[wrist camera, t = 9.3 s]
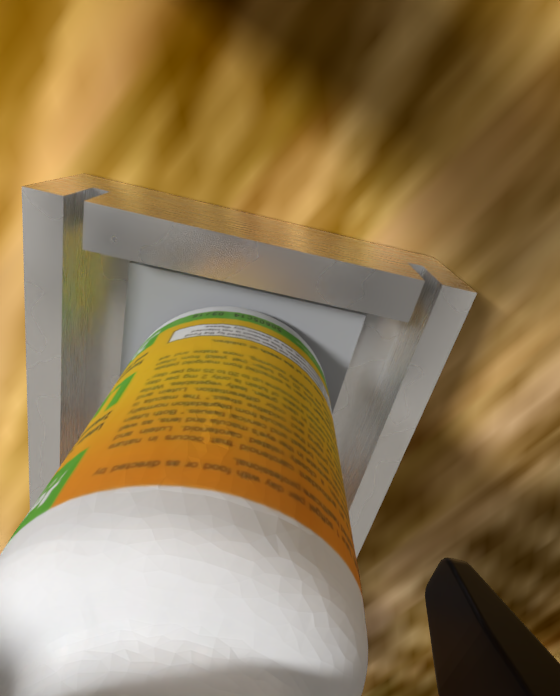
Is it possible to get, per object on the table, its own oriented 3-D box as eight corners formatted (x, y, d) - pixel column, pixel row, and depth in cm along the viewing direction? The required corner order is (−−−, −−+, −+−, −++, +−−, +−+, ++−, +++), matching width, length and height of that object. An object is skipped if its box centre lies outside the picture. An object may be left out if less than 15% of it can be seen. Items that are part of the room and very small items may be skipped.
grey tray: (295, 610, 19) (303, 928, 11) (70, 576, 18) (-84, 897, 11) (434, 257, 12) (687, 465, 5) (83, 173, 11) (-332, 259, 4)
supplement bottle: (137, 281, 11) (-488, 907, 2) (349, 321, 11) (577, 984, 2) (128, 452, 13) (-186, 1085, 4) (303, 480, 14) (337, 1111, 5)
